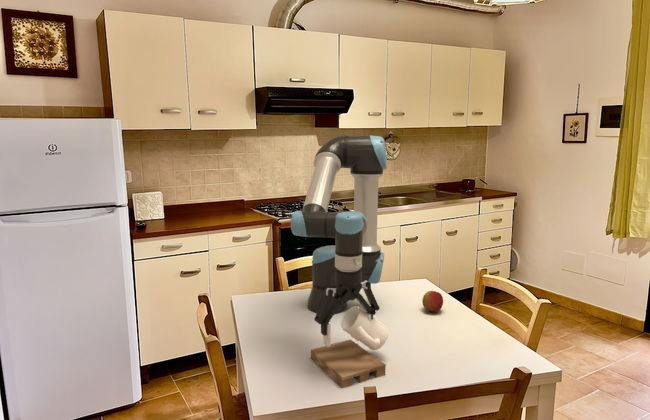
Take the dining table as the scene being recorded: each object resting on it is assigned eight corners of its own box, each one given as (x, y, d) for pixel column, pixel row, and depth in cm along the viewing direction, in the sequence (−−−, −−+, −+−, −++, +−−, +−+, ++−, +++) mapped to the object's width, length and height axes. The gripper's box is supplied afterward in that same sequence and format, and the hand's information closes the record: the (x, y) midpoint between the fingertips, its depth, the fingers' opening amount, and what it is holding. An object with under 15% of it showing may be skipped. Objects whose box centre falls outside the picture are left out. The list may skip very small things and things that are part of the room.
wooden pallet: (310, 358, 140) (310, 349, 140) (350, 348, 147) (350, 339, 147) (342, 388, 125) (342, 377, 124) (385, 374, 132) (385, 364, 131)
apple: (447, 312, 176) (448, 292, 175) (432, 317, 171) (433, 296, 170) (432, 306, 182) (433, 286, 181) (417, 310, 178) (418, 290, 176)
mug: (377, 364, 134) (346, 343, 130) (366, 341, 145) (337, 321, 142) (396, 343, 133) (366, 321, 129) (384, 321, 144) (355, 301, 141)
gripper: (315, 279, 122) (315, 355, 126) (392, 265, 134) (390, 334, 138) (302, 271, 128) (302, 344, 132) (377, 258, 140) (375, 325, 144)
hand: (347, 339), depth 135 cm, fingers open, 13 cm apart
